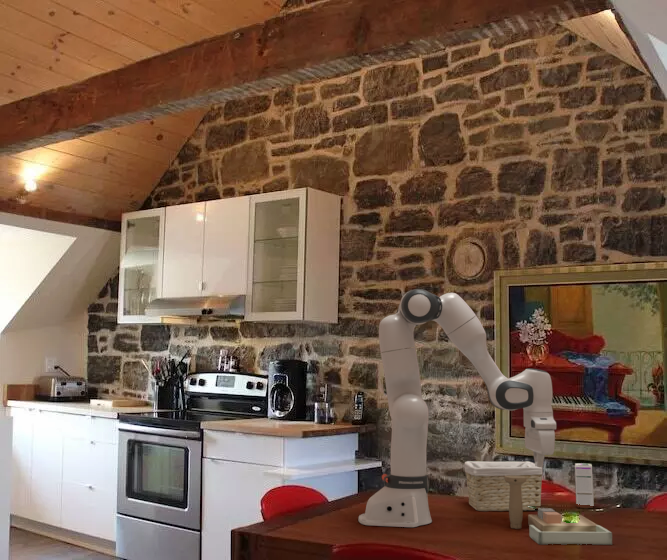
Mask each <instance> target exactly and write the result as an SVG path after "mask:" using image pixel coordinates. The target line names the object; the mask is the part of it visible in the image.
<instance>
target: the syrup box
mask: <svg viewBox="0 0 667 560" xmlns="http://www.w3.org/2000/svg"><path fill="white" fill-rule="evenodd" d="M593 476H594V474H593V466H592V463H584V462H583V463H582V462H581V463H574V479H575V482H574V483H575V504H578V505H579V504H580V505H590V506H594V507H595V505H594V504H595V502H594V500H595V499H594V498H595V497H594V496H595V495H594V478H593Z"/></svg>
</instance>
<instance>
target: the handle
mask: <svg viewBox="0 0 667 560" xmlns="http://www.w3.org/2000/svg"><path fill="white" fill-rule="evenodd" d="M504 480H505V481H506V482H507V483H509V485H510V497H509V510H508V516H509V522H510V523H509V524H510V528H511V529H516V530H519V529H522V522H523V516H524V515H523V514H524V513H523V512H524V510H523V509H522V508H523V506H522V493H521V485H522V484H523V483H525V482H526V477H525V476H514V475H508V476H504Z"/></svg>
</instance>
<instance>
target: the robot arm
mask: <svg viewBox="0 0 667 560" xmlns="http://www.w3.org/2000/svg"><path fill="white" fill-rule="evenodd" d="M430 321H432V322H435V323H437V324H438V326H440V328H442V330H443V331H444V333H445V335H446V336H447V337H448V339H449V340H450V342H451V343H452V344H453V346H455V347H456V349H458V351H459V352H461V354H463V355H464V357H465V358H467V359H468V360H469V361H470V363H471V364H472V365H473V367H474V369H475V370H476V371H477V372H476V373H478V375H479V376H480V378H481V379H482V380H483V383H484V384H485V386H486V387H485V388H486V392H487V397H488V400H489V402H490V403H491V405H492V406H494V407H495V408H497V409H498V410H502V411H503V410H504V411H516V410H520V409H523V427H525V430H524V447H525V449H528V450H530V451H532V453H533V459H534V464H535V466H537V467H542V468H544V460H545V456H553V455H554V452H555V444H556V443H555V442H556V432H555V430H557V421H556V420H555V418H554V410H553V407H552V402H553V382H552V378H551V375H550V374H549V373H548V372H547V371H546V370H543V369H539V368H538V369H537V368H531V367H529V368H525V370H523V371H522V372H520V373H518V374H516V375H514V376H512V377H507V376H505V375H504V374H503V373H502V371H501V370H500V368H499V367H498V365H497V364H496V362H495V361H494V359H493V358H492V356H491V354H490V352H489V350H488V347H487V333H486V330H485V329H484V327H483V324H482V322H481V321H480V319H479V318H478V316H477V315H476V313H475V312H474V311H473V309H472V308H471V307H470V306H469V304H468V303H467V302H466V301H465V300H464V299H463V298H462V297H461V296H460V295H459V294H457V293H455V292H447V293H444V294H442V295H440V296H438V295H436V294H434V293H431V292H430V291H428V290H426V289H422V288H415V289H411V290H408V291H407V292H405V294H404V295H403V296H402V297H401V298H400V302H399V305H398V308H397V311H396V313H394V314H390V315H387V316H385V317H384V318H382V319H381V320H380V321H379V327H378V341H379V342H378V343H379V349H380V358H381V361H382V362H381V363H382V368H383V373H384V381H385V390H386V396H387V404H388V411H389V415H390V418H391V440H390V441H391V442H390V473H388V474H387V473H383V474H382V475H381V480H382V481H383V487H382V488H380V489H379V490H378V491H377V492H375V493H374V494H373V495H372V496H370V497H369V499H368V500H367V502H366V505H365V506H366V507H365V512H364V513H362V514H359V516H358V522H359V523H360V524H361V525H365V526H377V527H397V528H398V527H399V528H401V527H402V528H403V527H404V528H417V527H419V526H424V525H428V524H431V523H432V522H433V520H432V517H431V512H430V507H429V499H428V493H429V475H428V473H427V446H428V433H429V432H428V431H429V408H428V405H427V403H426V402H425V400H424V399H423V394H422V393H423V392H422V386H421V384H422V383H421V375H420V374H421V373H420V367H419V361H418V355H417V351H416V344H415V338H414V332H415V331H414V330H415V327H417V326H420V325H423V324H426V323H427V322H430Z"/></svg>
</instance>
